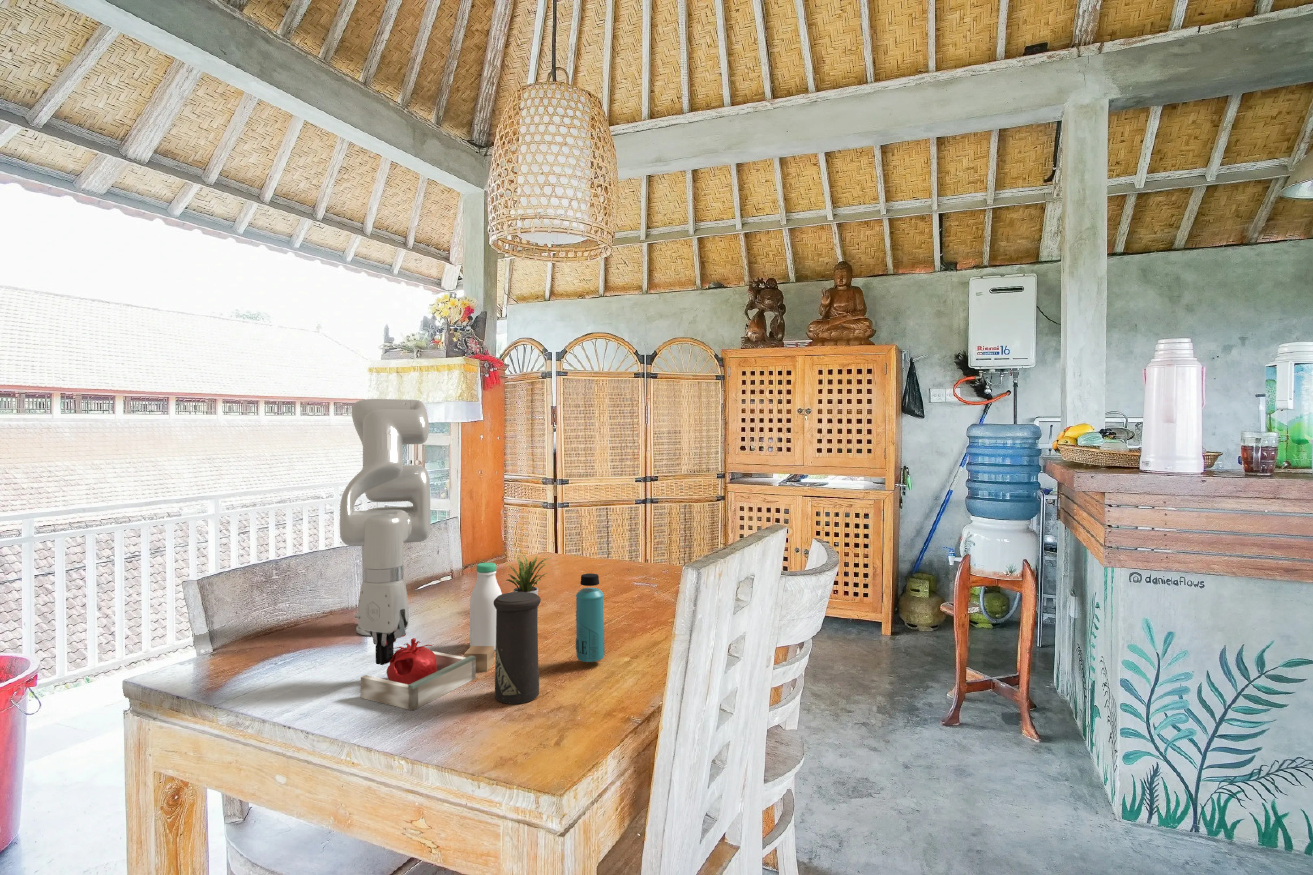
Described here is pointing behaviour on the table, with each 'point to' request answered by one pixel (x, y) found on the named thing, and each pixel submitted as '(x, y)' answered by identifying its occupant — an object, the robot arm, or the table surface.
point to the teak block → (482, 657)
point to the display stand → (422, 683)
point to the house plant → (526, 576)
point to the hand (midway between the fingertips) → (384, 662)
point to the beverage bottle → (590, 620)
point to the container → (516, 647)
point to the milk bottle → (484, 606)
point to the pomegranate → (411, 663)
